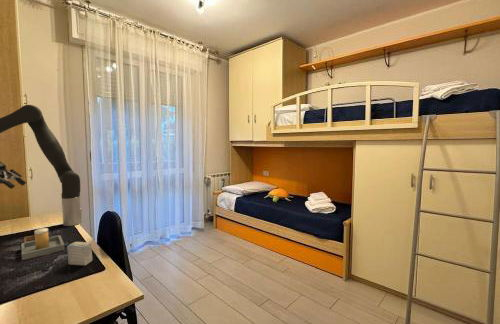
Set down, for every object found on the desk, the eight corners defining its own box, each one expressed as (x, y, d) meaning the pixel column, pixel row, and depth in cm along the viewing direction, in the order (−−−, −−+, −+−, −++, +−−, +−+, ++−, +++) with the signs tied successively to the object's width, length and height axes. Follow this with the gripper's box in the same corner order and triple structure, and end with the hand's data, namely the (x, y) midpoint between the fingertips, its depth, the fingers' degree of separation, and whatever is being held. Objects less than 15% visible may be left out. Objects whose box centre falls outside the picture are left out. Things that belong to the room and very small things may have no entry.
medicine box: (92, 260, 107) (91, 242, 106) (84, 266, 103) (83, 246, 102) (76, 259, 108) (75, 241, 107) (68, 264, 104) (66, 245, 103)
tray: (60, 240, 128) (60, 235, 128) (64, 249, 117) (64, 244, 117) (21, 248, 117) (21, 243, 117) (22, 260, 107) (21, 254, 106)
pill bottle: (48, 244, 121) (47, 227, 120) (49, 247, 117) (48, 230, 116) (35, 247, 117) (33, 229, 116) (36, 251, 114) (34, 233, 113)
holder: (46, 236, 132) (46, 232, 132) (48, 241, 126) (47, 237, 126) (24, 241, 126) (23, 237, 126) (24, 246, 119) (24, 243, 119)
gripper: (-16, 160, 117) (15, 183, 121) (6, 158, 130) (33, 178, 134) (-28, 171, 116) (3, 193, 120) (-5, 168, 130) (22, 188, 134)
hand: (19, 185), depth 127 cm, fingers open, 8 cm apart
